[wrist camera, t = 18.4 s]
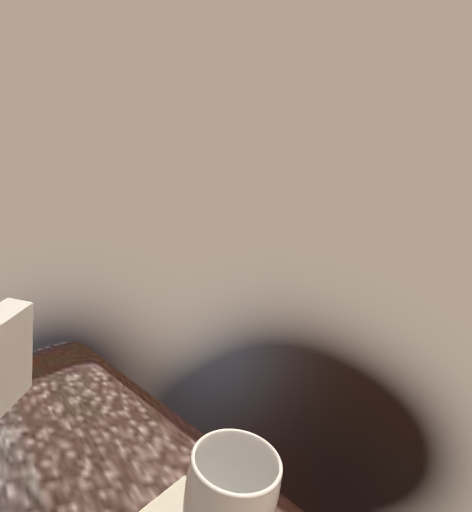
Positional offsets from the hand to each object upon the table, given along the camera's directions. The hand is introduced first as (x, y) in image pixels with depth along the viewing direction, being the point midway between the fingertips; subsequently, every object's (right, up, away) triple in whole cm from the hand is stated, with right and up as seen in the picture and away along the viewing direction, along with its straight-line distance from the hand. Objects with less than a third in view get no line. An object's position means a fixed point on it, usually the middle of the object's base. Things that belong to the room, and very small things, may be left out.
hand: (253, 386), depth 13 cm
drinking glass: (-3, -25, +24) cm, 35 cm away
